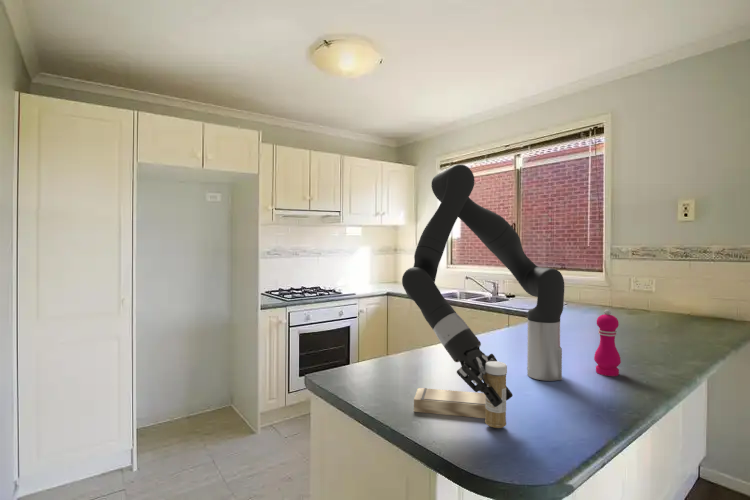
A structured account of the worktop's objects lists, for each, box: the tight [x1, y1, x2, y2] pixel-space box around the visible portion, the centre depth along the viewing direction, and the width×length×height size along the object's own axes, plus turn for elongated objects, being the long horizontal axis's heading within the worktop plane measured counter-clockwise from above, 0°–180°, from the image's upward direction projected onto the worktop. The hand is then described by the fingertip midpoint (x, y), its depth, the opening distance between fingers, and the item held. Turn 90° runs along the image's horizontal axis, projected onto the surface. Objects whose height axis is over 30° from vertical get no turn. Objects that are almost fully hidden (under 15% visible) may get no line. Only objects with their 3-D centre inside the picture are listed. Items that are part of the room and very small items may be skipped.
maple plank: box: [413, 387, 486, 419], centre depth 99 cm, size 20×8×3 cm, turn 77°
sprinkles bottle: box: [484, 360, 508, 429], centre depth 89 cm, size 5×5×14 cm
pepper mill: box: [593, 309, 622, 377], centre depth 126 cm, size 7×7×20 cm
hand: (504, 401), depth 87 cm, fingers closed on sprinkles bottle, 4 cm apart
